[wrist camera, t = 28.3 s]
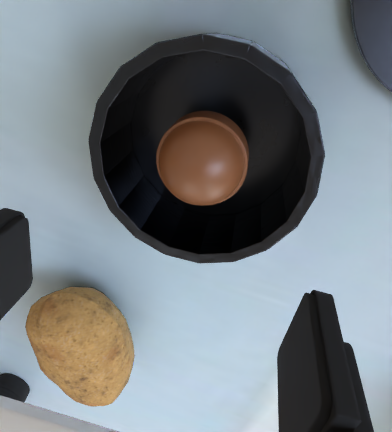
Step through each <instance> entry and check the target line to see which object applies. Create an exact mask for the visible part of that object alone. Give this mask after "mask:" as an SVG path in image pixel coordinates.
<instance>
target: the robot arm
mask: <svg viewBox="0 0 392 432" xmlns="http://www.w3.org/2000/svg"><path fill="white" fill-rule="evenodd" d="M32 280H33V276H32V263H31V249H30V236H29V222H28V219H27V218H25V216H24V214H23V213H22V212H19V211H15V210H11V209H8V208H3V209H1V210H0V320H1V319H2V318H3V317H4V316H5V314H6V313H7V312H8V311H9V310H10V309H11V308H12V307H13V306H14V305H15V303H16V302H17V301H18V300H19V299H20V298H21V297H22V296H23V295H24V294H25V293H26V291H27V290H28V289H29V288H30V286H31V284H32ZM277 366H278V414H279V432H374V430H373V426H372V422H371V418H370V414H369V410H368V407H367V403H366V399H365V395H364V391H363V387H362V383H361V379H360V375H359V371H358V367H357V363H356V359H355V355H354V351H353V349H352V346H351V345H350V344H349V343H345V342H343V338H342V334H341V329H340V325H339V321H338V316H337V312H336V308H335V303H334V299H333V296H332V295H331V294H327V293H323V292H320V291H316V290H313V291H312V292H311V293H310V294H309V293H305V294H304V296H303V298H302V300H301V302H300V304H299V307H298V309H297V311H296V313H295V315H294V317H293V320H292V322H291V324H290V326H289V328H288V331H287V333H286V335H285V337H284V339H283V341H282V344H281V346H280V348H279V351H278V357H277ZM0 432H118V431H115V430H112V429H109V428H105V427H102V426H99V425H96V424H92V423H89V422H86V421H83V420H79V419H76V418H73V417H70V416H67V415H63V414H60V413H57V412H53V411H50V410H47V409H44V408H40V407H37V406H34V405H31V404H27V403H24V402H21V401H18V400H14V399H11V398H8V397H4V396H1V395H0Z"/></svg>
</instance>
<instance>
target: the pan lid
mask: <svg viewBox="0 0 392 432" xmlns="http://www.w3.org/2000/svg"><path fill="white" fill-rule="evenodd" d="M351 15H352V24H353V29H354V34H355V39H356V42H357V45H358V47H359V50H360V53H361V55H362V57H363V59H364V61H365V62H366V64H367V66H368V68H369V69H370V71H371V72H372V73H373V74H374V76H375V77H376V78H377V80H378V81H380V82H381V83H382V84H383V85H384V86H385V87H386V88H387V89H388V90H389V91H391V92H392V0H351Z"/></svg>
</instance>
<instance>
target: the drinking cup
mask: <svg viewBox="0 0 392 432" xmlns="http://www.w3.org/2000/svg"><path fill="white" fill-rule="evenodd" d="M29 391H30V389H29V386H28V385H27V383H26V382H25V381H24V380H22V379H21V378H19V377H17V376H15V375H12V374H1V375H0V395H1V396H4V397H8V398H11V399H14V400H18V401H21V402H25V400H26V398H27V396H28V394H29Z"/></svg>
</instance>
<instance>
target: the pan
mask: <svg viewBox="0 0 392 432" xmlns="http://www.w3.org/2000/svg"><path fill="white" fill-rule="evenodd" d="M196 111H213V112H217V113H220V114H222V115H224V116H226V117H228V118H230V119H231V120H232V121H233V122H235V123H236V124H237V125H238V127H239V128H240V129H241V131H242V132H243V134H244V136H245V138H246V140H247V144H248V148H249V161H248V170H247V174H246V177H245V180H244V182H243V184H242V186H241V187H240V188H239V190H238V191H237V192H236V193H235V194H234V195H233V196H231V197H230V198H229V199H227V200H225V201H223V202H221V203H217V204H214V205H202V206H201V205H192V204H189V203H186V202H184V201H182V200H180V199H178V198H177V197H175V196H174V195H173V194H172V193H171V192H170V191H169V190H168V188H167V187H166V186H165V185H164V183H163V182H162V180H161V178H160V175H159V173H158V169H157V163H156V154H157V149H158V145H159V143H160V141H161V139H162V137H163V135H164V134H165V133H166V131H167V130H168V129H169V128H170V127H171V126H172V125H173V124H174V123H175V122H176V121H177V120H178V119H180V118H181V117H183V116H185V115H187V114H189V113H192V112H196ZM89 147H90V155H91V162H92V169H93V176H94V180H95V182H96V184H97V186H98V188H99V190H100V192H101V194H102V196H103V198H104V200H105V202H106V204H107V206H108V208H109V210H110V211H111V212H112V213H113V214H114V215H115V217H116V218H117V219H118V220H119V221H120V222H121V223H122V224H123V225H124V226H125V227H126V228H127V229H128V230H129V231H130V232H131V233H132V235H133V236H135V237H136V238H137V239H139V240H141V241H143V242H144V243H146V244H148V245H149V246H151V247H153V248H154V249H156V250H158V251H160V252H161V253H163V254H165V255H169V256H172V257H176V258H180V259H184V260H188V261H192V262H196V263H220V262H234V261H238V260H241V259H243V258H246V257H249V256H252V255H255V254H258V253H260V252H263V251H266V250H267V249H269V248H271V247H272V246H273V245H275V244H276V243H277V242H278V241H280V240H281V239H282V238H284V237H285V236H286V235H287V234H289V233H290V232H291V231H293V230H294V229H295V228H296V227H297V226H298V225H299V223H300V221H301V220H302V218H303V217H304V215H305V214H306V212H307V210H308V209H309V207H310V206H311V204H312V202H313V201H314V199H315V198H316V196H317V193H318V188H319V183H320V178H321V173H322V168H323V162H324V157H325V151H324V146H323V141H322V136H321V131H320V125H319V120H318V115H317V112H316V109H315V108H314V106H313V105H312V103H311V102H310V100H309V99H308V97H307V96H306V94H305V92H304V91H303V89H302V88H301V86H300V85H299V83H298V82H297V80H296V79H295V77H294V76H293V74H292V73H291V71H290V70H289V68H288V67H287V65H286V64H285V63H284V62H283V61H282V60H280V59H279V58H277V57H276V56H274V55H273V54H272V53H270V52H269V51H267V50H266V49H264V48H263V47H261V46H260V45H259V44H257V43H256V42H253V41H251V40H247V39H242V38H238V37H234V36H228V35H224V34H219V33H209V34H199V35H194V36H189V37H183V38H178V39H172V40H167V41H162V42H158V43H155V44H154V45H152V46H151V47H149V48H148V49H146V50H145V51H143V52H142V53H140V54H139V55H137V56H136V57H134V58H133V59H131V60H130V61H128V62H126V63H125V64H123V65H122V66H121V67H120V68H119V69H118V71H117V72H116V74H115V75H114V77H113V78H112V80H111V81H110V83H109V84H108V86H107V87H106V89H105V90H104V92H103V93H102V95H101V96H100V98H99V99H98V101H97V103H96V108H95V112H94V117H93V122H92V126H91V131H90V136H89Z"/></svg>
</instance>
